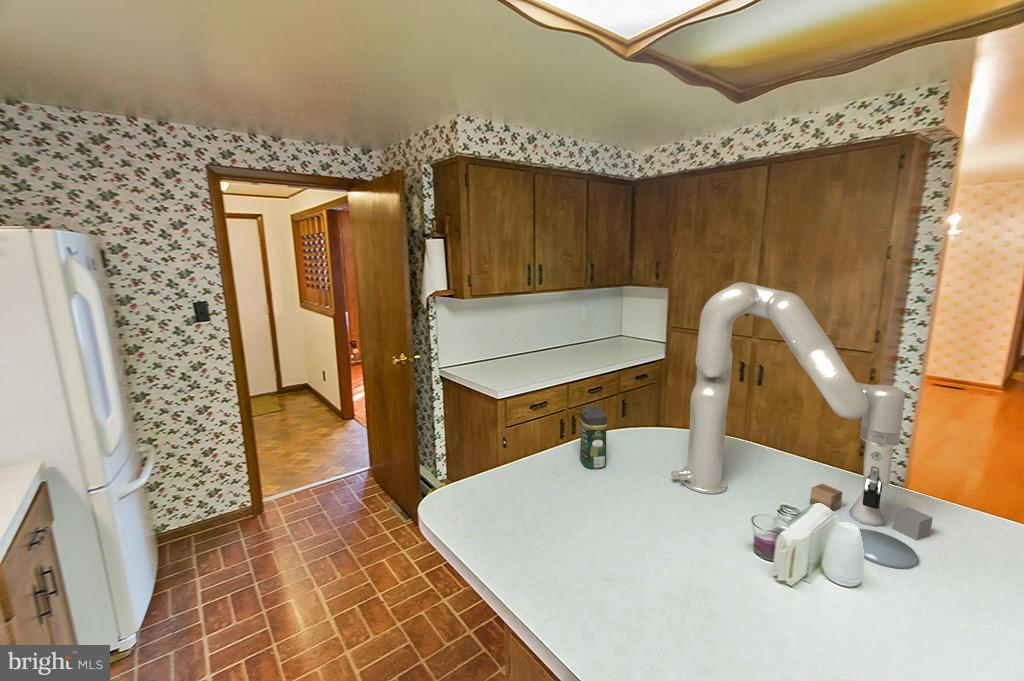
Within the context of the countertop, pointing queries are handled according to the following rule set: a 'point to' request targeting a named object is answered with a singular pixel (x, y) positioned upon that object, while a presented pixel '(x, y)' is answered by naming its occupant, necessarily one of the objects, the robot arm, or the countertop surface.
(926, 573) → the countertop surface
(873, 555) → the slate plate
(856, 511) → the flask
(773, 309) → the robot arm
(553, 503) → the countertop surface
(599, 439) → the coffee jar
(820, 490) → the walnut block
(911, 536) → the charcoal block
